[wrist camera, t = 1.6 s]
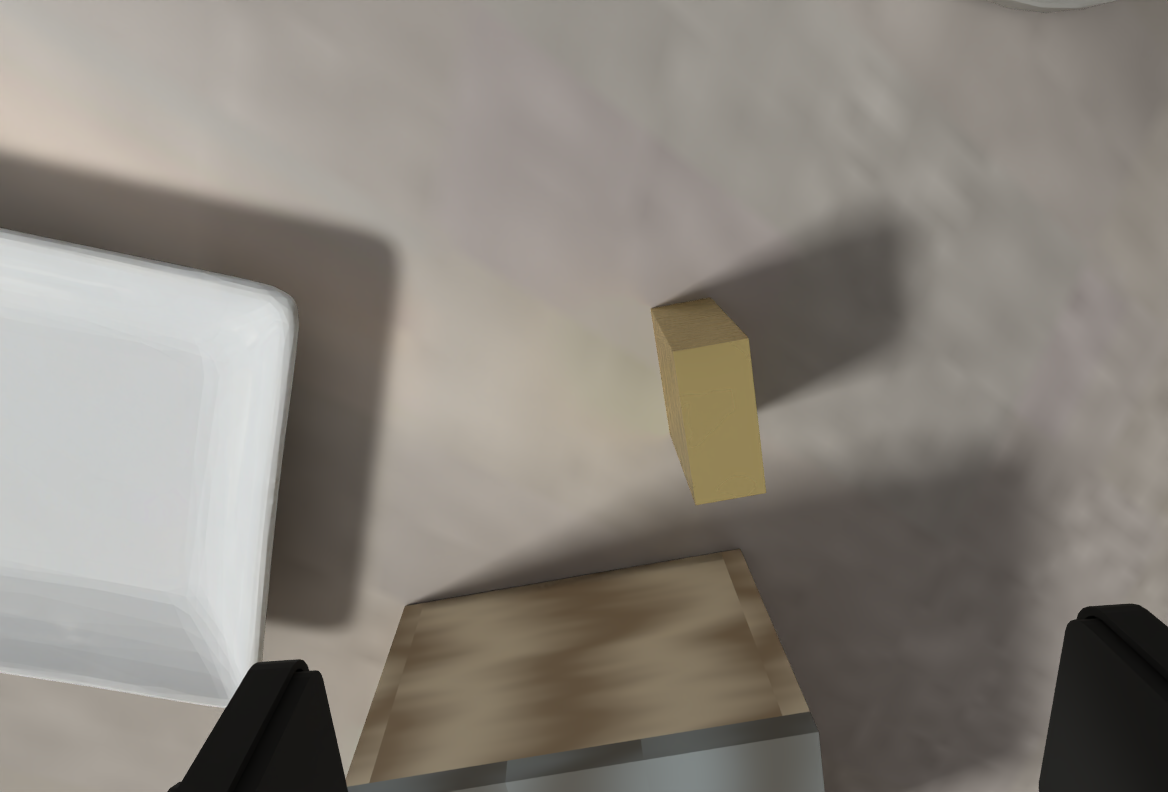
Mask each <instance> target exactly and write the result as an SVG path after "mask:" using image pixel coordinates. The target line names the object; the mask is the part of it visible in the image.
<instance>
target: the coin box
mask: <svg viewBox="0 0 1168 792" xmlns="http://www.w3.org/2000/svg"><path fill="white" fill-rule="evenodd" d="M346 784H347V789H348V792H825V790H824V780H823V770H822V760H821V750H820V740H819V731H818V729H817V727H816V724H815V722H814V720H813V717H812V715H811V713H810V710H809V708H808V706H807V703H806V701H805V699H804V696H803V694H802V692H801V689H800V687H799V685H798V682H797V680H796V678H795V675H794V673H793V671H792V668H791V666H790V664H789V661H788V659H787V657H786V654H785V652H784V650H783V647H782V645H781V643H780V640H779V638H778V636H777V633H776V631H775V629H774V626H773V624H772V622H771V619H770V617H769V615H768V612H767V610H766V608H765V605H764V603H763V601H762V599H761V596H760V594H759V592H758V589H757V587H756V585H755V582H754V580H753V578H752V575H751V573H750V571H749V568H748V566H747V564H746V561H745V559H744V557H743V554H742V552H741V550H740V549H736V550H730V551H724V552H718V553H712V554H707V555H701V556H695V557H689V558H683V559H677V560H671V561H666V562H660V563H654V564H648V565H642V566H636V567H631V568H625V569H619V570H613V571H607V572H601V573H595V574H590V575H584V576H578V577H572V578H566V579H560V580H555V581H549V582H543V583H537V584H531V585H525V586H519V587H514V588H508V589H502V590H496V591H490V592H484V593H479V594H473V595H467V596H461V597H455V598H449V599H443V600H438V601H432V602H426V603H420V604H414V605H408V606H405V608H404V611H403V614H402V617H401V619H400V622H399V625H398V628H397V631H396V634H395V637H394V640H393V643H392V646H391V649H390V652H389V654H388V657H387V660H386V663H385V666H384V669H383V672H382V675H381V678H380V681H379V684H378V687H377V689H376V692H375V695H374V698H373V701H372V704H371V707H370V710H369V713H368V716H367V719H366V722H365V725H364V727H363V730H362V733H361V736H360V739H359V742H358V745H357V748H356V751H355V754H354V757H353V760H352V762H351V765H350V768H349V771H348V774H347V777H346Z"/></svg>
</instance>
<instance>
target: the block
mask: <svg viewBox="0 0 1168 792" xmlns="http://www.w3.org/2000/svg"><path fill="white" fill-rule="evenodd" d="M651 315H652V321H653V328H654V334H655V341H656V347H657V353H658V360H659V366H660V373H661V379H662V386H663V392H664V399H665V405H666V411H667V418H668V424H669V431H670V435H671V438H672V441H673V444H674V446H675V449H676V452H677V455H678V458H679V460H680V463H681V466H682V469H683V471H684V474H685V477H686V480H687V482H688V485H689V488H690V491H691V493H692V496H693V499H694V502H695V505H700V504H706V503H711V502H717V501H723V500H729V499H734V498H740V497H746V496H752V495H757V494H763V493H766V487H765V478H764V469H763V461H762V452H761V443H760V434H759V425H758V417H757V408H756V399H755V390H754V381H753V373H752V364H751V355H750V346H749V338H748V337H747V336H746V335H745V334H744V333H743V332H742V331H741V330H740V329H739V328H738V327H737V325H736V324H735V323H734V322H733V321H732V320H731V319H730V318H729V317H728V316H727V315H726V314H725V313H724V312H723V311H722V309H721V308H720V307H719V306H718V305H717V304H716V303H715V302H714V301H713V300H712V299H711V298H705V299H700V300H695V301H689V302H684V303H678V304H673V305H667V306H662V307H656V308H651Z"/></svg>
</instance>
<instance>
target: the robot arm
mask: <svg viewBox="0 0 1168 792" xmlns="http://www.w3.org/2000/svg"><path fill="white" fill-rule="evenodd" d="M987 1H990V2H992V3H995V4H998V5H1001V6H1003V7H1006V8H1009V9H1017V10H1025V11H1033V12H1041V13H1049V12H1060V11H1071V10H1082V9H1085V8H1089V7H1093V6H1096V5H1101V4H1105V3H1109V2H1113V1H1118V0H987ZM168 792H348V789H347V784H346V780H345V775H344V771H343V766H342V762H341V757H340V753H339V748H338V744H337V739H336V735H335V730H334V726H333V722H332V717H331V713H330V708H329V704H328V699H327V695H326V690H325V686H324V681H323V678H322V675H321V673H320V672H319V671H316V670H315V671H309V669H308V666H307V664H306V663H305V662H304V661H303V660H300V659H299V660H284V661H269V662H257V663H255V664H253V665H252V666H251V668H250V669H249V670H248V672H247V673H246V675H245V677H244V678H243V680H242V682H241V683H240V685H239V687H238V688H237V690H236V692H235V693H234V695H233V697H232V698H231V700H230V702H229V703H228V705H227V707H226V708H225V710H224V712H223V713H222V715H221V717H220V718H219V720H218V722H217V723H216V725H215V727H214V728H213V730H212V732H211V733H210V735H209V737H208V738H207V740H206V742H205V743H204V745H203V747H202V748H201V750H200V752H199V753H198V755H197V757H196V758H195V760H194V762H193V763H192V765H191V767H190V768H189V770H188V772H187V774H186V775H185V777H184V779H183V780H182V782H179V783H177V784H176V785H174V786H173V787H171V788H170V789H169V790H168ZM1039 792H1168V627H1167V626H1166V625H1165V624H1164V623H1162V622H1161V621H1160V620H1159V619H1158V618H1156V617H1155V616H1154V615H1153V614H1152V613H1150V612H1149V611H1148V610H1146V609H1145V608H1143V607H1142V606H1140V605H1136V604H1118V605H1103V606H1089V607H1086V608H1083V609H1082V610H1081V611H1080V612H1079V613H1078V616H1077V619H1076V620H1072V621H1070V622H1069V623H1068V624H1067V627H1066V630H1065V636H1064V642H1063V647H1062V653H1061V659H1060V665H1059V670H1058V676H1057V682H1056V688H1055V693H1054V699H1053V705H1052V711H1051V716H1050V722H1049V728H1048V734H1047V739H1046V745H1045V751H1044V757H1043V762H1042V768H1041V774H1040V780H1039Z"/></svg>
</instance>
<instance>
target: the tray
mask: <svg viewBox="0 0 1168 792" xmlns="http://www.w3.org/2000/svg"><path fill="white" fill-rule="evenodd" d="M298 332H299V319H298V307H297V305H296V303H295V300H294V299H293V298H292V297H291V296H290V295H289V294H287V293H286V292H284V291H282V290H280V289H278V288H276V287H274V286H271V285H267V284H263V283H260V282H256V281H252V280H247V279H243V278H239V277H235V276H230V275H225V274H220V273H215V272H210V271H206V270H201V269H196V268H191V267H186V266H181V265H177V264H172V263H167V262H162V261H157V260H152V259H147V258H143V257H138V256H133V255H128V254H123V253H119V252H114V251H109V250H104V249H99V248H95V247H90V246H85V245H80V244H75V243H70V242H66V241H61V240H56V239H51V238H46V237H42V236H37V235H32V234H27V233H22V232H18V231H13V230H8V229H3V228H0V673H5V674H12V675H18V676H24V677H31V678H37V679H44V680H50V681H57V682H63V683H70V684H76V685H83V686H89V687H96V688H102V689H108V690H114V691H120V692H125V693H131V694H137V695H143V696H149V697H155V698H161V699H167V700H173V701H179V702H186V703H192V704H198V705H205V706H213V707H221V708H226V707H227V705H228V703H229V702H230V700H231V698H232V697H233V695H234V693H235V692H236V690H237V688H238V687H239V685H240V683H241V682H242V680H243V678H244V677H245V675H246V673H247V672H248V670H249V669H250V668H251V666H252V665H253V664H255V663H257V662H262V657H263V644H264V633H265V623H266V613H267V602H268V592H269V581H270V570H271V559H272V550H273V540H274V531H275V521H276V512H277V502H278V492H279V484H280V475H281V467H282V459H283V450H284V442H285V435H286V428H287V420H288V413H289V406H290V398H291V391H292V383H293V375H294V367H295V359H296V350H297V341H298Z"/></svg>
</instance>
